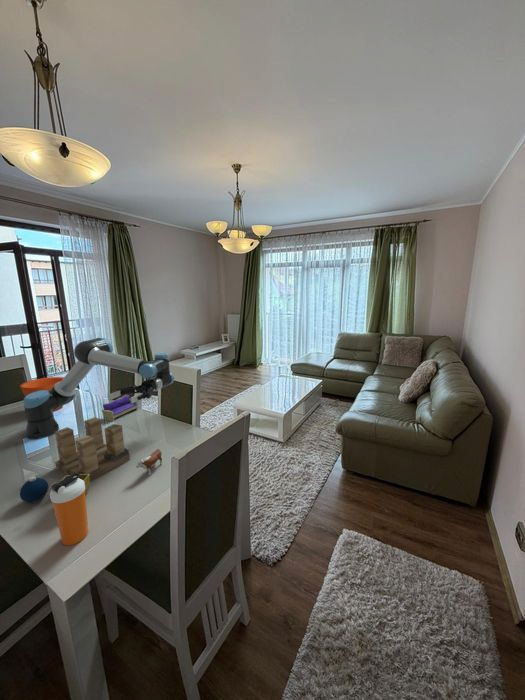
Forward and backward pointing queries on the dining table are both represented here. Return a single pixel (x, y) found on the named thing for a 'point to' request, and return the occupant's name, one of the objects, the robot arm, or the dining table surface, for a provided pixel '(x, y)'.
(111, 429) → the stool leg
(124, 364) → the robot arm
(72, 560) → the dining table surface
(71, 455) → the tan post-studded fixture
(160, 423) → the dining table surface
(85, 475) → the flower pot
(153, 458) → the bull figurine
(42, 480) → the christmas ornament
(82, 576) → the dining table surface
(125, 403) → the toy sofa
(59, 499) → the shaker bottle
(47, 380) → the flowerpot
